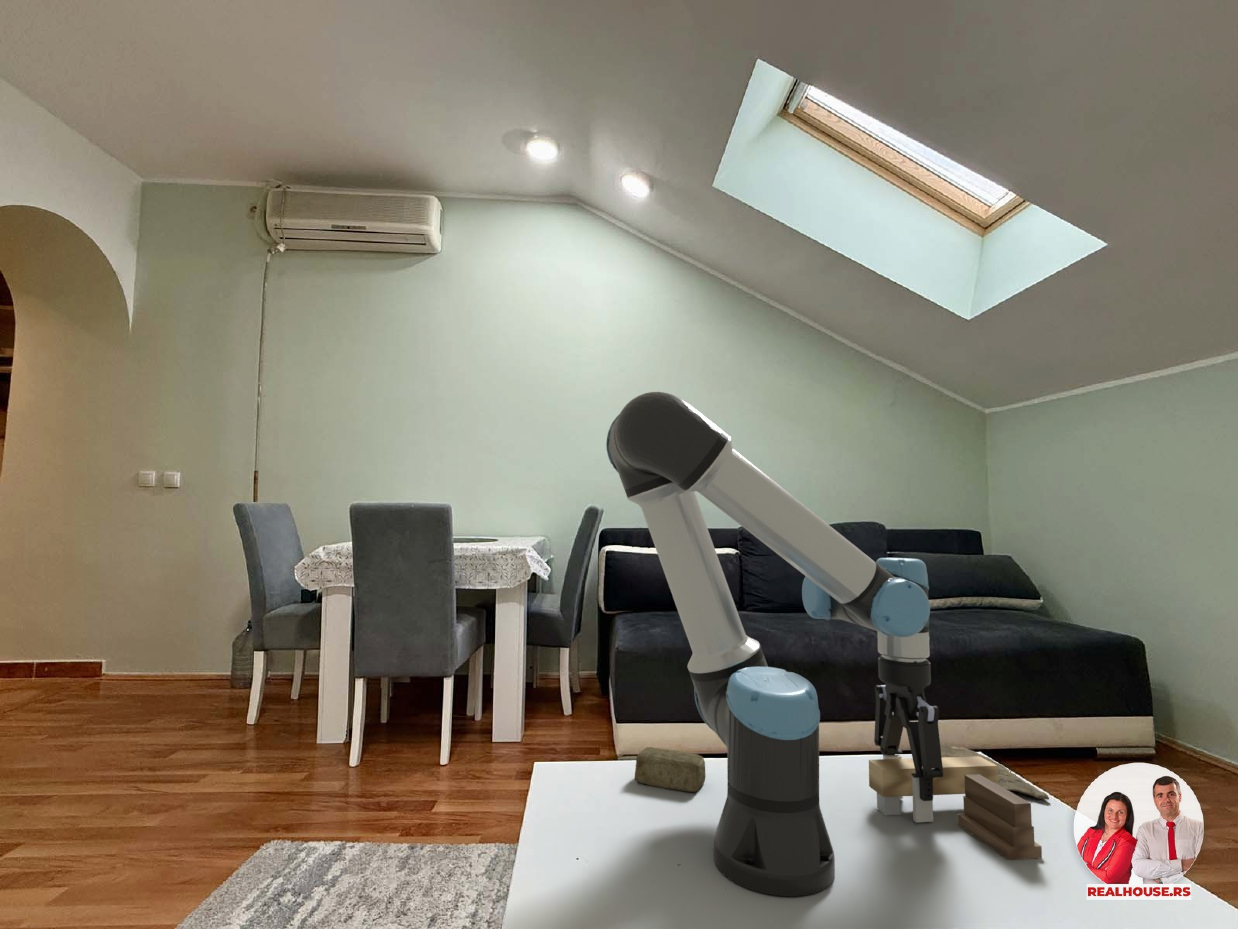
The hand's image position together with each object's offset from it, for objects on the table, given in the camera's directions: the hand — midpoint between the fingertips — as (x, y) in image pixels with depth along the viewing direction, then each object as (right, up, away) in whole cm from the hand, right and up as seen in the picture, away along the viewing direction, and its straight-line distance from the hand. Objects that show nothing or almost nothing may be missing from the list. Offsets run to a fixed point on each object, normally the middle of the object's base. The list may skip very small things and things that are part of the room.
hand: (907, 808), depth 98 cm
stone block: (-36, -1, +9) cm, 37 cm away
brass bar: (+4, +3, +1) cm, 5 cm away
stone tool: (+19, -3, +16) cm, 25 cm away
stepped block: (+9, 0, -9) cm, 12 cm away
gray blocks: (+4, 0, +1) cm, 4 cm away
